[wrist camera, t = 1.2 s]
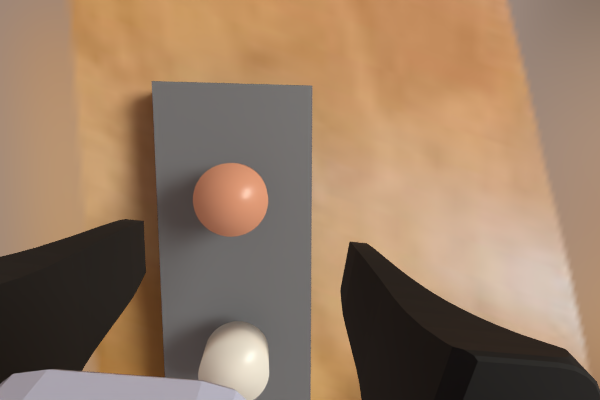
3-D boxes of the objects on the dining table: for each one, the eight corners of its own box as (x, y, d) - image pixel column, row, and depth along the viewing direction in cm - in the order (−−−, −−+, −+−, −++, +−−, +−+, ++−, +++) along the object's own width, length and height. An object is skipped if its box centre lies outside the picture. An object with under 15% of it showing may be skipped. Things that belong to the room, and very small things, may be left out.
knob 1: (267, 221, 23) (268, 235, 19) (207, 222, 23) (193, 237, 18) (266, 163, 23) (267, 163, 18) (206, 162, 23) (191, 162, 18)
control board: (305, 401, 27) (310, 425, 25) (176, 411, 26) (167, 438, 24) (307, 93, 25) (312, 85, 22) (163, 89, 23) (151, 81, 21)
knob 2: (267, 357, 25) (269, 403, 20) (211, 360, 24) (199, 409, 19) (267, 304, 24) (268, 338, 19) (209, 306, 24) (197, 343, 19)
